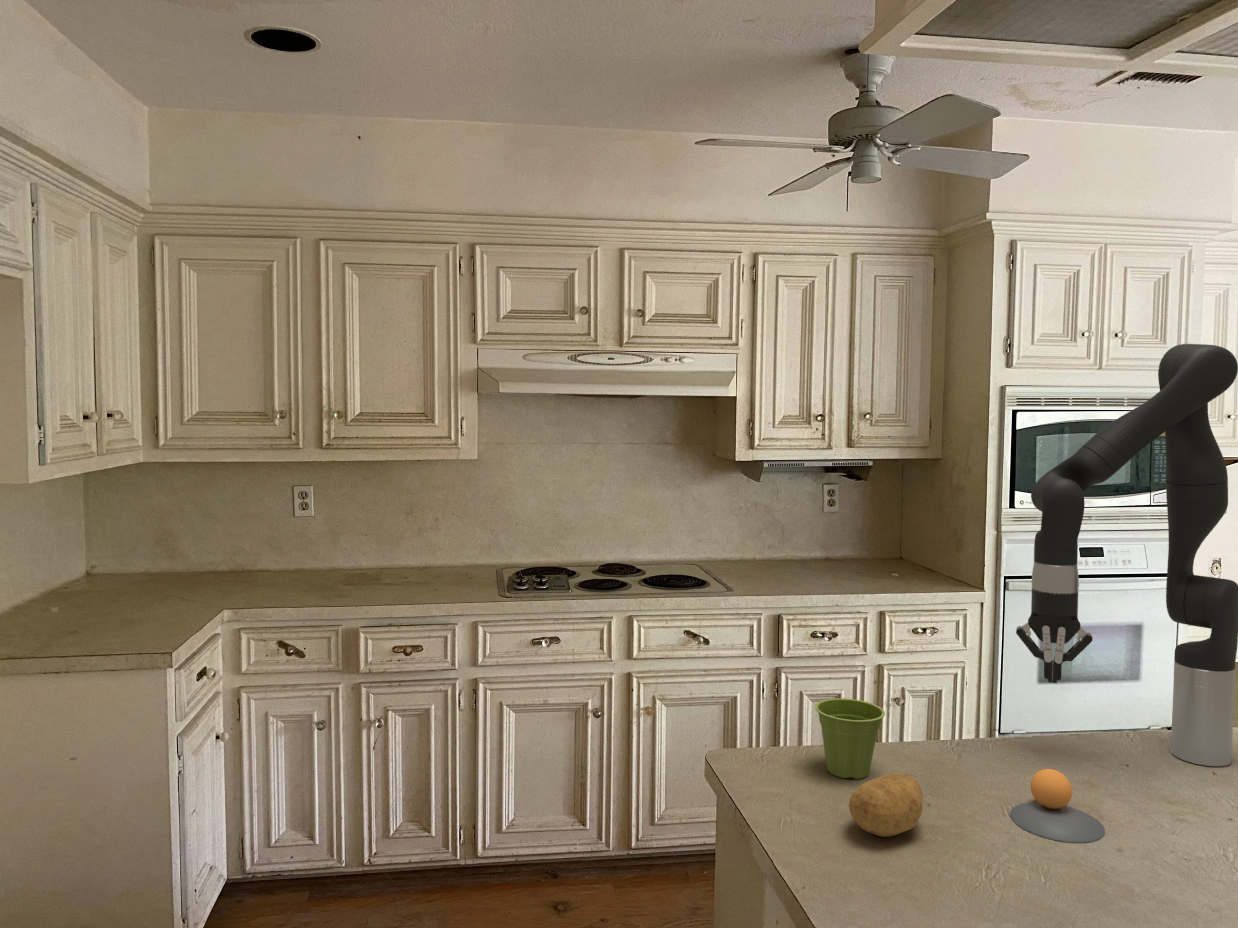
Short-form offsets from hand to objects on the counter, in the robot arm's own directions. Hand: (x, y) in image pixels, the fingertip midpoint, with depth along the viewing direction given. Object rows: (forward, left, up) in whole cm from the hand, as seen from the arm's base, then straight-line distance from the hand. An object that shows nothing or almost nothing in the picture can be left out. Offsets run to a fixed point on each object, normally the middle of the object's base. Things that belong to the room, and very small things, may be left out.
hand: (1052, 681), depth 159 cm
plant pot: (+35, -17, -15) cm, 41 cm away
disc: (+23, +14, -14) cm, 31 cm away
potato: (+47, +1, -15) cm, 49 cm away
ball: (+19, +11, -11) cm, 25 cm away
